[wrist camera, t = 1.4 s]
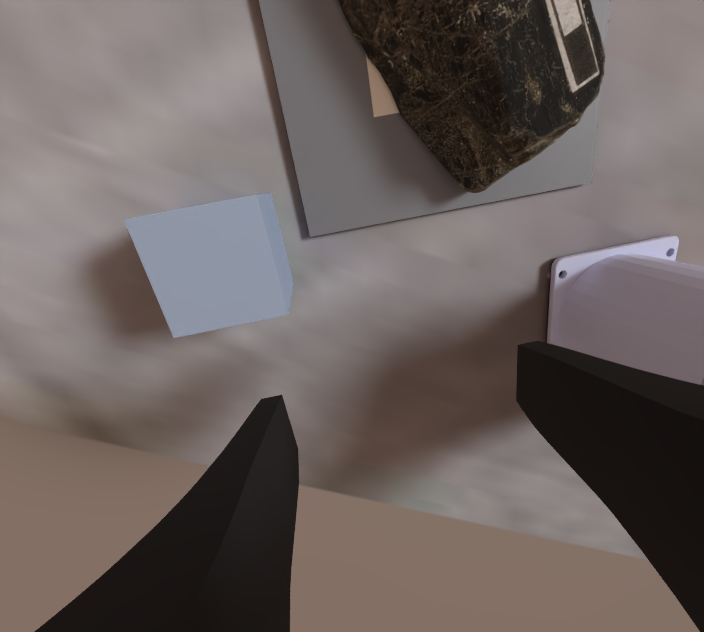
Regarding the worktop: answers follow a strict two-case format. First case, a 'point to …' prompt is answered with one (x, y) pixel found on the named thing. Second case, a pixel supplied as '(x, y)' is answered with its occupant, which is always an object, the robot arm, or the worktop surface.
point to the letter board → (383, 130)
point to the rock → (483, 75)
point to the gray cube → (215, 263)
